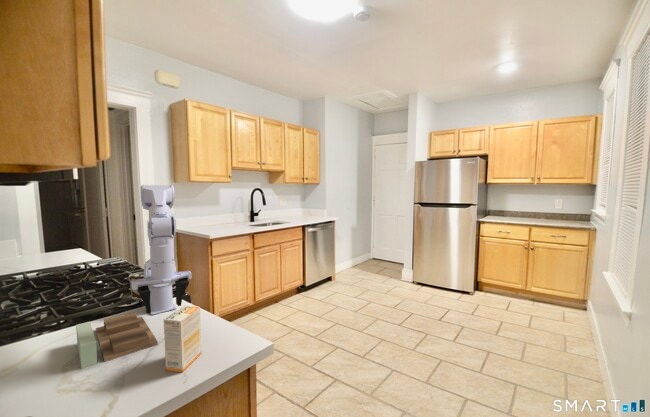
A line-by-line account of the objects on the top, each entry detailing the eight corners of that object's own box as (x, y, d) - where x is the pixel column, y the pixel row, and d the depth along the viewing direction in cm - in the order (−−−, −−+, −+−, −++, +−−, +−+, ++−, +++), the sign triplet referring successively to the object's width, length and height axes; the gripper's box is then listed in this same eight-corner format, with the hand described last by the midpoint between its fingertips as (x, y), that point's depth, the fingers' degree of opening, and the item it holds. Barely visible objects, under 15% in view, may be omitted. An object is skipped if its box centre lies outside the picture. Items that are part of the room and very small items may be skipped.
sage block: (77, 345, 82) (76, 324, 81) (91, 341, 84) (90, 321, 83) (81, 369, 72) (80, 346, 71) (97, 364, 74) (95, 341, 73)
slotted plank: (95, 331, 89) (95, 321, 89) (141, 319, 98) (141, 310, 97) (104, 361, 75) (103, 350, 74) (157, 344, 83) (157, 334, 83)
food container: (169, 296, 117) (168, 271, 116) (159, 302, 111) (158, 276, 110) (140, 294, 118) (139, 270, 118) (128, 300, 112) (127, 274, 111)
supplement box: (185, 351, 80) (184, 304, 79) (202, 353, 79) (201, 306, 78) (164, 370, 72) (162, 318, 70) (182, 373, 71) (181, 320, 70)
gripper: (134, 269, 74) (136, 321, 75) (195, 259, 83) (196, 306, 85) (129, 262, 79) (131, 312, 80) (186, 254, 89) (187, 298, 90)
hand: (164, 308), depth 83 cm, fingers open, 7 cm apart
